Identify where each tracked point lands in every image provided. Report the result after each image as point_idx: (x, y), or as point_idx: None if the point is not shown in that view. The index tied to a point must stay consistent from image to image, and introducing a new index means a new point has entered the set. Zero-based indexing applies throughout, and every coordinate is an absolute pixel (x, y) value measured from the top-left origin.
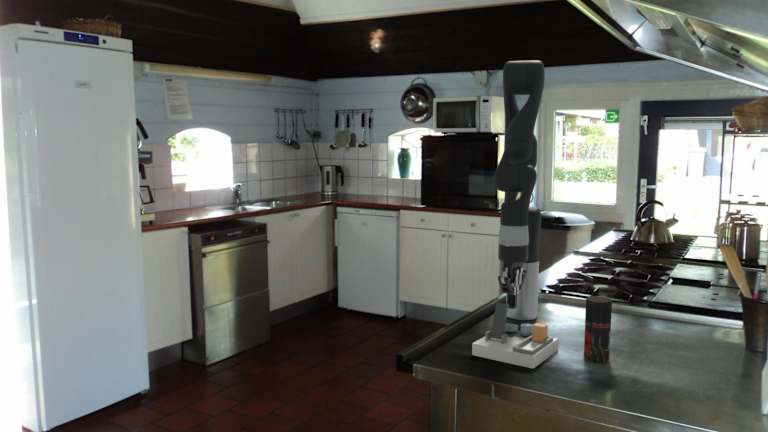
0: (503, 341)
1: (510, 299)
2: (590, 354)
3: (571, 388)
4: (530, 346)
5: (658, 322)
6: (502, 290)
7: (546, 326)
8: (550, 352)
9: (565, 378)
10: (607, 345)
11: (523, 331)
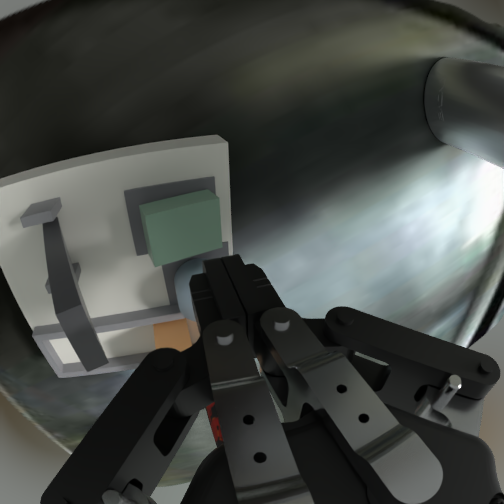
0: None
1: (199, 328)
2: None
3: (60, 413)
4: (110, 337)
5: (455, 317)
6: (131, 377)
7: None
8: None
9: (83, 397)
10: None
11: (176, 290)
